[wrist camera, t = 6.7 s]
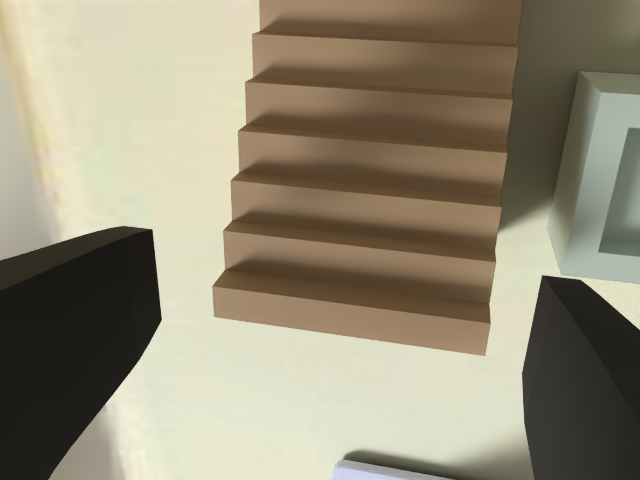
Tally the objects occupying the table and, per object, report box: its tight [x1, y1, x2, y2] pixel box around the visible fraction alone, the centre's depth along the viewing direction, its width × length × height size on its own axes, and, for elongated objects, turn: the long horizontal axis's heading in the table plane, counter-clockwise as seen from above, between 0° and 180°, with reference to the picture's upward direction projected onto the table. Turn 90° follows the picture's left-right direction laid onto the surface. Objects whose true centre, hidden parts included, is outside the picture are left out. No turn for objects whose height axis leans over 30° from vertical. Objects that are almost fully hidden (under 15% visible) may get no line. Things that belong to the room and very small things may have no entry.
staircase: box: [212, 0, 523, 356], centre depth 14 cm, size 8×6×6 cm
